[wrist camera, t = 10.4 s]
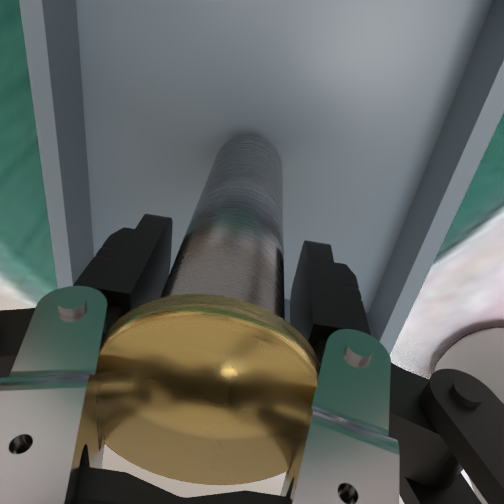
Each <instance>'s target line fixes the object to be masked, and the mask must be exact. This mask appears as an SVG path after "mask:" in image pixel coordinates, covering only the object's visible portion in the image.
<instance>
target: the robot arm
mask: <svg viewBox="0 0 504 504" xmlns="http://www.w3.org/2000/svg"><path fill="white" fill-rule="evenodd" d="M172 227H173V222H172V218H170V217H164V216H158V215H152V214H144V216H143V217H142V219H141V220H140V222H139V223H138V225H137V227H136V228H135V229H132V228H125V227H123V228H122V229H120V230H118V231H116V232H115V233H113V234H111V235H110V236H109V237H108V238H107V240H106V241H105V242H104V244H103V245H102V248H100V249H99V251H98V252H97V253H96V255H95V257H93V259H92V260H91V261H90V263H89V264H88V265H87V267H86V268H85V270H84V271H83V272H82V274H81V275H80V276H79V278H78V279H77V280H76V282H75V283H74V284H73V286H69V287H64V288H60V289H57V290H54V291H52V292H50V293H48V294H47V295H45V296H44V297H43V298H42V299H41V300H40V301H39V302H38V304H37V306H36V308H30V309H17V310H2V311H0V504H399V494H400V496H401V498H402V500H403V502H404V503H405V504H482V503H481V502H480V500H479V499H478V497H477V496H476V494H475V493H474V491H473V490H472V489H471V487H470V486H469V484H468V483H467V481H466V480H465V478H464V477H463V475H462V474H461V471H462V470H463V469H464V470H465V472H466V473H467V475H468V476H469V478H470V479H471V480H472V482H473V483H474V485H475V486H476V488H477V489H478V490H479V492H480V493H481V495H482V496H483V498H484V499H485V500H486V502H487V503H488V504H504V404H503V403H502V402H501V401H500V399H499V398H498V397H497V396H496V395H495V394H494V393H493V392H492V391H491V390H490V389H489V388H488V387H487V386H486V385H485V384H484V383H483V382H481V381H480V380H478V379H477V378H475V377H474V376H472V375H470V374H468V373H465V372H463V371H460V370H456V369H449V368H446V369H440V370H437V371H435V372H434V373H433V374H432V376H431V378H430V379H429V380H428V379H426V378H423V377H421V376H418V375H416V374H414V373H411V372H409V371H406V370H404V369H402V368H400V367H398V366H396V365H394V364H393V363H391V359H390V356H389V353H388V351H387V350H386V348H385V347H384V346H383V345H382V344H381V343H380V342H379V341H378V340H377V339H375V338H374V337H372V336H371V332H370V329H369V325H368V321H367V317H366V313H365V309H364V305H363V301H361V299H362V298H361V294H360V291H359V286H358V282H357V278H356V275H355V274H354V273H353V272H352V271H351V269H350V268H349V267H348V266H347V265H346V264H342V263H336V262H334V259H333V253H332V248H331V245H330V244H326V243H320V242H314V241H308V240H305V241H304V243H303V246H302V249H301V253H300V257H299V261H298V265H297V269H296V273H295V277H294V281H293V285H292V290H291V297H290V324H291V325H292V326H293V327H294V328H296V329H297V330H298V331H299V332H300V333H301V334H302V335H303V336H304V337H305V339H306V340H307V341H308V343H309V344H310V345H311V347H312V348H313V350H314V352H315V354H316V356H317V358H318V360H319V363H320V369H319V375H318V381H317V384H318V387H316V389H315V392H314V395H313V397H312V400H311V403H310V407H309V411H308V415H307V419H306V423H305V427H304V431H303V434H302V438H301V441H300V444H299V447H298V450H297V452H296V455H294V454H292V456H291V459H290V462H289V465H288V468H287V472H286V476H285V480H284V484H283V487H282V491H281V495H280V496H278V495H271V494H265V493H258V492H252V491H239V492H231V493H222V494H214V495H206V496H199V497H190V498H183V497H179V496H176V495H174V494H172V493H170V492H167V491H165V490H163V489H161V488H159V487H157V486H154V485H152V484H150V483H148V482H146V481H144V480H141V479H139V478H137V477H135V476H133V475H130V474H128V473H125V472H119V471H112V470H106V469H102V460H103V452H104V444H105V435H104V427H99V426H97V423H96V397H97V389H98V382H99V376H100V367H99V352H100V349H101V346H102V342H103V340H104V337H105V334H106V333H107V331H108V330H109V329H110V327H111V326H112V325H113V324H114V323H115V322H116V321H117V320H118V319H119V318H120V317H122V316H123V315H124V314H126V313H127V312H129V311H130V310H132V309H134V308H136V307H138V306H140V305H142V304H144V303H147V302H150V301H152V300H155V299H159V298H160V296H161V294H162V291H163V289H164V286H165V284H166V281H167V279H168V276H169V272H170V264H171V246H172Z"/></svg>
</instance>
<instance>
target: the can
mask: <svg viewBox="0 0 504 504" xmlns="http://www.w3.org/2000/svg"><path fill="white" fill-rule="evenodd" d="M446 368H449V369H456V370H460V371H463V372H465V373H468V374H470V375H472V376H474V377H475V378H477V379H478V380H480V381H481V382H483V383H484V384H485V385H486V386H487V387H488V388H489V389H490V390H491V391H492V392H493V393H494V394H495V395H496V396H497V397H498V398H499V399H500V401H501V402H502V403H503V404H504V328H499V327H495V328H490V329H485V330H479V331H477V332H474V333H472V334H470V335H467V336H465V337H463V338H462V339H460V340H459V341H458V342H456V343H455V344H453V345H452V346H451V347H450V349H449V350H447V351H446V353H445V354H444V355H443V356H442V358H441V359H440V360H439V361H438V363H437V364H436V367H435V371H437V370H440V369H446ZM435 371H434V372H435ZM469 479H470V478H469ZM470 481H471V484H472V487H473V489H474V492H475V494H476V496H477V497H478V499H479V500H480V502H481V503H482V504H488V503H487V502H486V500H485V499H484V498H483V496H482V495H481V493H480V492H479V490H478V489H477V488H476V486H475V485H474V483H473V482H472V480H471V479H470Z"/></svg>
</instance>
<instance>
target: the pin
mask: <svg viewBox="0 0 504 504" xmlns="http://www.w3.org/2000/svg"><path fill="white" fill-rule="evenodd" d="M99 367H100V376H99V382H98V389H97V397H96V423H97V426H99V427H104V435H105V444H106V445H107V446H108V447H109V448H110V449H112V450H113V451H114V452H116V453H117V454H118V455H120V456H121V457H123V458H124V459H126V460H127V461H129V462H131V463H133V464H135V465H137V466H139V467H141V468H143V469H145V470H148V471H150V472H152V473H155V474H158V475H161V476H164V477H167V478H171V479H176V480H180V481H185V482H191V483H198V484H207V485H235V484H243V483H250V482H255V481H260V480H264V479H267V478H271V477H274V476H276V475H279V474H281V473H284V472H286V471H287V468H288V465H289V462H290V459H291V456H292V454H294V455H296V452H297V450H298V447H299V444H300V441H301V438H302V434H303V431H304V427H305V423H306V419H307V415H308V411H309V407H310V403H311V400H312V397H313V395H314V392H315V389H316V387H318V384H317V381H318V375H319V369H320V363H319V360H318V358H317V356H316V354H315V352H314V350H313V348H312V347H311V345H310V344H309V343H308V341H307V340H306V339H305V337H304V336H303V335H302V334H301V333H300V332H299V331H298V330H297V329H296V328H294V327H293V326H292V325H291V324H289V323H288V322H287V321H285V301H284V241H283V181H282V161H281V158H280V155H279V153H278V151H277V150H276V149H275V147H274V146H273V145H272V144H271V143H270V142H268V141H267V140H265V139H263V138H261V137H258V136H254V135H241V136H237V137H234V138H232V139H230V140H229V141H227V142H226V143H225V144H224V145H223V146H222V147H221V148H220V150H219V151H218V153H217V156H216V158H215V161H214V163H213V166H212V168H211V171H210V173H209V176H208V178H207V181H206V183H205V186H204V188H203V191H202V193H201V196H200V198H199V201H198V203H197V206H196V208H195V211H194V213H193V216H192V218H191V221H190V223H189V226H188V229H187V231H186V234H185V236H184V239H183V241H182V244H181V246H180V249H179V251H178V254H177V256H176V259H175V261H174V264H173V266H172V269H171V271H170V274H169V276H168V279H167V281H166V284H165V286H164V289H163V291H162V294H161V296H160V298H159V299H155V300H152V301H150V302H147V303H144V304H142V305H140V306H138V307H136V308H134V309H132V310H130V311H129V312H127V313H126V314H124V315H123V316H122V317H120V318H119V319H118V320H117V321H116V322H115V323H114V324H113V325H112V326H111V327H110V329H109V330H108V331H107V333H106V334H105V337H104V340H103V342H102V346H101V349H100V352H99Z"/></svg>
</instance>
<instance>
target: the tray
mask: <svg viewBox="0 0 504 504" xmlns="http://www.w3.org/2000/svg"><path fill="white" fill-rule="evenodd" d="M19 3H20V10H21V18H22V25H23V33H24V40H25V48H26V55H27V63H28V70H29V77H30V85H31V92H32V100H33V107H34V115H35V122H36V130H37V137H38V144H39V152H40V159H41V167H42V174H43V182H44V189H45V197H46V204H47V212H48V219H49V226H50V234H51V241H52V249H53V256H54V264H55V271H56V279H57V286H58V289H60V288H64V287H69V286H73V284H74V283H75V282H76V280H77V279H78V278H79V276H80V275H81V274H82V272H83V271H84V270H85V268H86V267H87V265H88V264H89V263H90V261H91V260H92V259H93V257H95V255H96V253H97V252H98V251H99V249H100V248H102V245H103V244H104V242H105V241H106V240H107V238H108V237H109V236H110V235H111V234H113V233H115V232H116V231H118V230H120V229H122V228H123V227H125V228H132V229H135V228H136V227H137V225H138V223H139V222H140V220H141V219H142V217H143V216H144V214H152V215H158V216H164V217H170V218H172V222H173V227H172V246H171V264H170V271H171V269H172V266H173V264H174V261H175V259H176V256H177V254H178V251H179V249H180V246H181V244H182V241H183V239H184V236H185V234H186V231H187V229H188V226H189V223H190V221H191V218H192V216H193V213H194V211H195V208H196V206H197V203H198V201H199V198H200V196H201V193H202V191H203V188H204V186H205V183H206V181H207V178H208V176H209V173H210V171H211V168H212V166H213V163H214V161H215V158H216V156H217V153H218V151H219V150H220V148H221V147H222V146H223V145H224V144H225V143H226V142H227V141H229V140H230V139H232V138H234V137H237V136H241V135H254V136H258V137H261V138H263V139H265V140H267V141H268V142H270V143H271V144H272V145H273V146H274V147H275V149H276V150H277V151H278V153H279V155H280V158H281V161H282V181H283V241H284V301H285V321H287V322H288V323H289V324H290V297H291V290H292V285H293V281H294V277H295V273H296V269H297V265H298V261H299V257H300V253H301V249H302V246H303V243H304V241H305V240H308V241H314V242H320V243H326V244H330V245H331V248H332V253H333V259H334V262H336V263H342V264H346V265H347V266H348V267H349V268H350V269H351V271H352V272H353V273H354V274H355V275H356V278H357V282H358V286H359V291H360V294H361V298H362V299H361V301H363V305H364V309H365V313H366V317H367V321H368V325H369V329H370V332H371V336H372V337H374V338H375V339H377V340H378V341H379V342H380V343H381V344H382V345H383V346H384V347H385V348H386V350H387V351H388V353H389V355H390V353H391V351H392V349H393V347H394V345H395V342H396V340H397V338H398V336H399V334H400V332H401V330H402V327H403V325H404V323H405V321H406V319H407V317H408V315H409V313H410V310H411V308H412V306H413V304H414V302H415V300H416V298H417V296H418V293H419V291H420V289H421V287H422V285H423V283H424V281H425V279H426V276H427V274H428V272H429V270H430V268H431V266H432V264H433V261H434V259H435V257H436V255H437V253H438V251H439V249H440V247H441V244H442V242H443V240H444V238H445V236H446V234H447V232H448V230H449V227H450V225H451V223H452V221H453V219H454V217H455V215H456V213H457V210H458V208H459V206H460V204H461V202H462V200H463V198H464V196H465V193H466V191H467V189H468V187H469V185H470V183H471V181H472V178H473V176H474V174H475V172H476V170H477V168H478V166H479V164H480V161H481V159H482V157H483V155H484V153H485V151H486V149H487V147H488V144H489V142H490V140H491V138H492V136H493V134H494V132H495V130H496V127H497V125H498V123H499V121H500V119H501V117H502V115H503V112H504V0H19ZM169 274H170V272H169Z"/></svg>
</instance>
